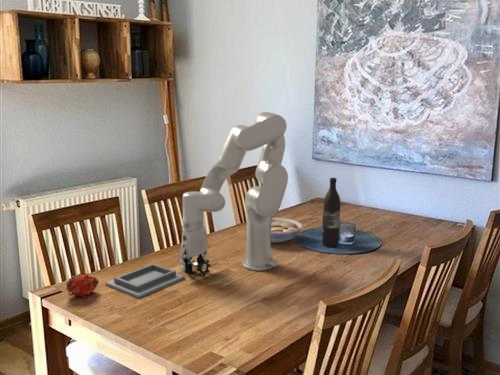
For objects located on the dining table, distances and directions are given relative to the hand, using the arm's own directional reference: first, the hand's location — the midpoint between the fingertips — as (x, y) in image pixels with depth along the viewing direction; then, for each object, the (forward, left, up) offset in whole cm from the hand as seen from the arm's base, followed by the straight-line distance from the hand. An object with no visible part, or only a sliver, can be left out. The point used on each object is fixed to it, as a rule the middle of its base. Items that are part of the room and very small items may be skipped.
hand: (194, 270), depth 206 cm
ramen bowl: (-2, -51, -1) cm, 51 cm away
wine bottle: (-24, -61, -1) cm, 65 cm away
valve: (+1, 0, -1) cm, 2 cm away
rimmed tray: (+8, +17, -1) cm, 19 cm away
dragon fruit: (+16, +38, -1) cm, 42 cm away
